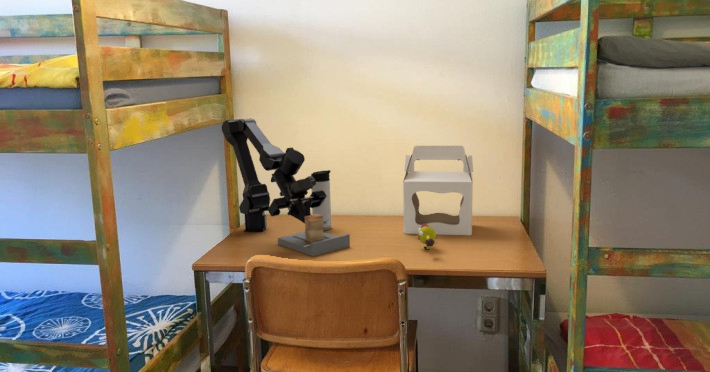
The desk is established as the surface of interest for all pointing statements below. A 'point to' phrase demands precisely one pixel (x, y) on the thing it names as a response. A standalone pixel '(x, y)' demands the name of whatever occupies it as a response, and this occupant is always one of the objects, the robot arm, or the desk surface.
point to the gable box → (438, 191)
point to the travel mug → (325, 208)
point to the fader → (313, 228)
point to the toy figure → (426, 236)
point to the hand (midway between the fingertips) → (310, 225)
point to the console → (315, 243)
